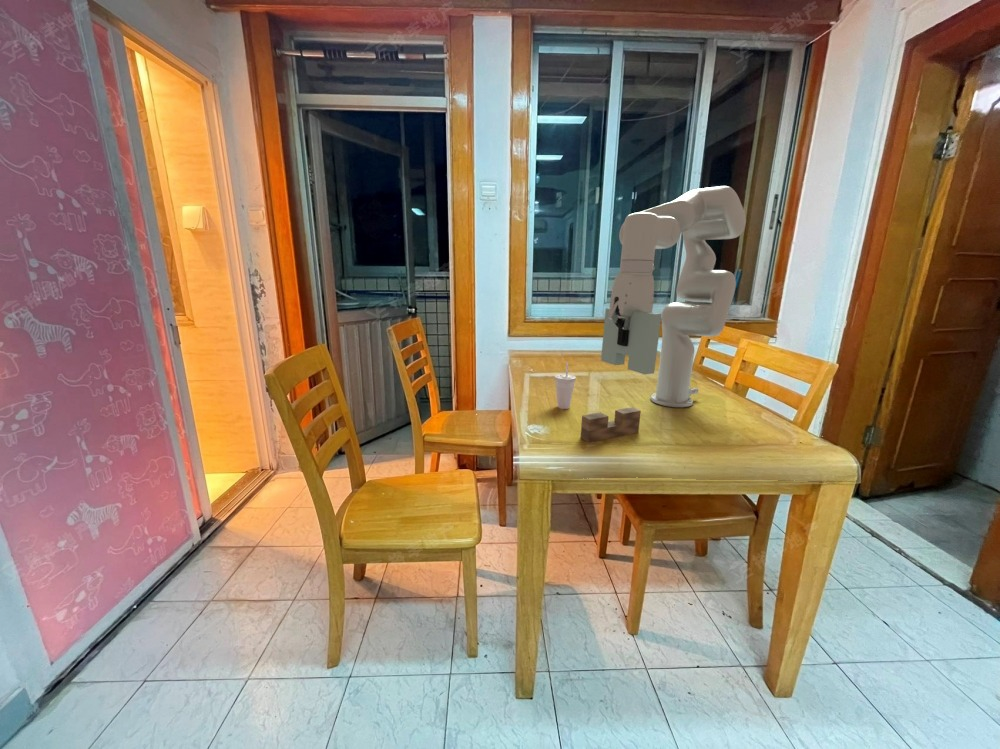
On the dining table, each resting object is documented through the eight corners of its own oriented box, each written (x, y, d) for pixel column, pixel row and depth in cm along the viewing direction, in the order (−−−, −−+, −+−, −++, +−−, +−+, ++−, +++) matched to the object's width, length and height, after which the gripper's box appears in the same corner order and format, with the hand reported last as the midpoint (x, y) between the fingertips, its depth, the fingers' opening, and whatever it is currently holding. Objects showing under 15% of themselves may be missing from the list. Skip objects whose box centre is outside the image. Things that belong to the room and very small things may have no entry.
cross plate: (600, 360, 108) (605, 308, 105) (609, 360, 109) (614, 308, 106) (644, 374, 94) (651, 314, 91) (654, 373, 95) (661, 313, 92)
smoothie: (563, 411, 119) (566, 366, 115) (548, 406, 124) (550, 361, 120) (578, 407, 123) (581, 363, 119) (563, 402, 128) (566, 359, 124)
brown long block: (630, 428, 107) (632, 407, 106) (638, 432, 105) (640, 410, 103) (580, 437, 101) (582, 415, 99) (587, 442, 98) (589, 419, 97)
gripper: (650, 270, 102) (642, 341, 107) (598, 267, 96) (591, 344, 100) (673, 270, 96) (663, 346, 100) (619, 267, 89) (611, 349, 94)
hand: (628, 344), depth 100 cm, fingers closed on cross plate, 3 cm apart
